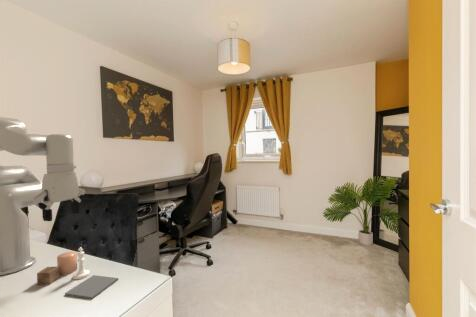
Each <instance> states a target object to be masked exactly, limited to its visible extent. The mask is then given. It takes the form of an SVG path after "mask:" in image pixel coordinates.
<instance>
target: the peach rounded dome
mask: <svg viewBox="0 0 476 317" xmlns="http://www.w3.org/2000/svg"><path fill="white" fill-rule="evenodd" d="M77 254H78V252H77V251H68V252H67V251H66V252H64V253H61V254H59V255H57V257H56V258H57V261H56V263H57V266H56V267H59V276H66V275H71V274H72V273H74V272H75V273H76V272H77V271H78V261H77V260H78V257H77V256H78V255H77Z"/></svg>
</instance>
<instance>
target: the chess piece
mask: <svg viewBox="0 0 476 317" xmlns="http://www.w3.org/2000/svg"><path fill="white" fill-rule="evenodd" d="M77 250H78V252H77V256H78V257H77V262H78V264H79V265H78V270H77V271H76V272H75V273H74V274H73V275H72V278H73V280H82V279H85V278H86V277H88V276H90V274H91V271H90V270H89V269H85V265H84V261H85V260H86V259H85V257H84V256H85V251H84V248H82V246H80V247H79V248H78V249H77Z"/></svg>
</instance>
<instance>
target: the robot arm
mask: <svg viewBox="0 0 476 317" xmlns="http://www.w3.org/2000/svg"><path fill="white" fill-rule="evenodd" d="M27 131H28V130H27V126H26V124H25V123H24V122H23V121H22V120H19V119H17V118H12V117H11V118H10V117H3V116H0V152H1V151H5V152H7V153H9V154H10V153H11V154H13V155H15V156H21V157H22V156H26V157H27V156H30V157H32V156H46V157H45V158H46V161H45V162H46V173H44V174H43V178H42V180H41V179H40V178H39V177H38V175H36V174H35V172H33V171H32V170H31V169H30V168H28V167H27V166H23V165H1V164H0V276H3V275H4V276H5V275H9V274H14V273H16V272H20V271H23V270H25V269H27V268H29V267H31V266H33V265H34V264H35V263H36V261H37V260H36V259H37V258H36V257H34V256H31V242H30V221H29V216H28V215H27V214H26V213H25V212H24V211H23V210H22V209H23V208H27V207H31V206H36V207H38V208H39V209H40V210H41V212H42V219H43V220H42V221H43V222H52V221H53V209H52V206H53V205H54V204H55V203H60V202H65V201H72V202H71V203H70V206H71V207H70V208H71V213H72V214H78V215H79V214H80V213H81V211H80V203H81V202H82V200H83V198H84V195H85V194H86V189H84V188H83V187H79V183H78V182H79V181H78V177H77V172H76V171H75V169H76V168H77V166H76V165H75V162H74V143H73V142H74V140H73V137H72V136H71V135H69V134H61V133H58V134H57V133H54V134H37V133H27Z"/></svg>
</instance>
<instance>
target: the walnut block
mask: <svg viewBox="0 0 476 317" xmlns="http://www.w3.org/2000/svg"><path fill="white" fill-rule="evenodd" d="M59 278H60V275H59V267H57V266H46V267H45V268H43V269H42V270H40V271H38V272H37V273H36V280H37V286H47V285H49V286H50V285H52V284H53V283H54V282H56V281H57V280H58V279H59Z"/></svg>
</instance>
